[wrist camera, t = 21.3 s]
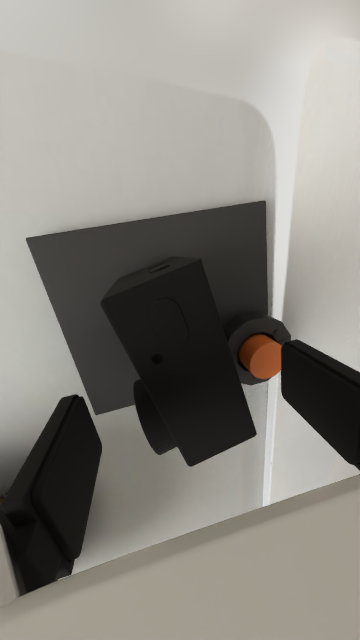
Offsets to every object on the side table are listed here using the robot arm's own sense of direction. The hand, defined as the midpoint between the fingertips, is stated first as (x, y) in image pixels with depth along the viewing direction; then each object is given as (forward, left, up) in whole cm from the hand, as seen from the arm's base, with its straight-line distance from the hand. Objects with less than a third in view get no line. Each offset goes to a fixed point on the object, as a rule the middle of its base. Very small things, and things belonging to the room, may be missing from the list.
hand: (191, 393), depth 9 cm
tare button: (-7, +3, -6) cm, 9 cm away
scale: (-1, -1, -9) cm, 9 cm away
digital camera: (0, 0, -7) cm, 7 cm away
